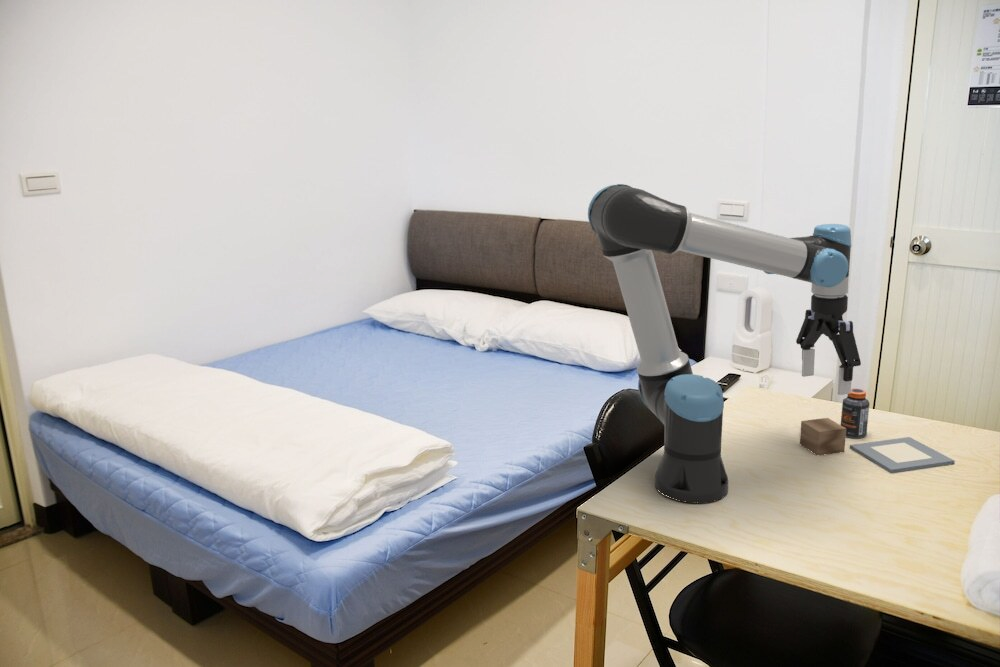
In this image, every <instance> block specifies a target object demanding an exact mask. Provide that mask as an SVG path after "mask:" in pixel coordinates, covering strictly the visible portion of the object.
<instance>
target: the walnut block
mask: <svg viewBox="0 0 1000 667" xmlns="http://www.w3.org/2000/svg"><path fill="white" fill-rule="evenodd" d="M799 436H800V437H799V445H800V444H801V445H800V446H802V447H803V446H804V447H803V448H805V449H806V448H807V450H808V449H809V450H810V451H809V450H808V451H809V452H811V451H812V452H813V453H812V452H811V453H812V454H814V453H815V454H816V455H815V454H814V455H815V456H817V455H819V456H825V455H824V454H827V455H832V454H833V453H834V454H839V453H840V452H841V453H845V448H846V438H847V437H846V428H845V427H843V426H841V424H839V423H838V422H836V421H834V420H832V419H830V418H829V417H823V418H816V419H807V420H806V419H805V420H801V422H800V435H799Z"/></svg>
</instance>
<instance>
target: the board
mask: <svg viewBox="0 0 1000 667" xmlns="http://www.w3.org/2000/svg"><path fill="white" fill-rule="evenodd" d="M849 449H851V450H852V451H853V452H856V453H857V454H858V455H860V456H862V457H864V458H866V459H867V460H869V461H870V462H872V463H874V464H875V465H877V466H879V467H880V468H882V469H884V471H887V472H888V473H890V474H893V473H894V474H895V473H901V472H907V471H908V472H909V471H914V470H922V469H928V468H935V467H936V466H937V467H943V466H942V465H944V466H949V464H951V465H955V460H954V459H952V458H950V457H949V456H947V455H945V454H943V453H941V452H939V451H937V450H936V449H934V448H931V447H929V446H927V445H925V444H923V443H922V442H920V441H919V440H916V439H915V438H912V437H910V436H907V437H906V436H905V437H901V438H891V439H884V440H876V441H871V442H861V443H855V444H853V443H852V444H849Z"/></svg>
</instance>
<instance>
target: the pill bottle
mask: <svg viewBox="0 0 1000 667" xmlns="http://www.w3.org/2000/svg"><path fill="white" fill-rule="evenodd" d="M846 395H847V396H846V397H844V398H843V399H842V406H841V416H840V417H841V419H840V425H841V426H843V427H845V428H846V436H847V437H846V438H850V439H851V438H852V439H863V438H864V437H866V436H867V433H868V432H867V431H868V423H869V412H870V401H869V400H868V399H867V398H866V396H867V391H866V390H865V389H862V388H857V387H856V388H855V387H854V388H852V387H851V394H846Z"/></svg>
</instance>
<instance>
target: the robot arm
mask: <svg viewBox="0 0 1000 667" xmlns="http://www.w3.org/2000/svg"><path fill="white" fill-rule="evenodd" d="M587 219H588V222H589V225H590V227H591V229H592V230H593V232H594V233H596V235H597V238H598V243H599V245H600V249H601V252H602V255H603V257H604V258H606V259H607V260H609V261H611V262H612V264H613V267H614V271H615V274H616V277H617V281H618V285H619V287H620V288H619V289H620V291H621V295H622V300H623V302H624V305H625V308H626V312H627V316H628V320H629V323H630V326H631V330H632V333H633V337H634V340H635V345H636V347H637V351H638V354H639V358H640V362H639V363H638V365H637V366H636V372H637V375H638V382H637V388H638V394H639V397H640V399H641V400H642V402H643V404H644V406H645V407H646V408H647V409H648V410H649V411H651V412H652V414H654V415H655V416H656V418H657V419H658V420H659V421H660V422H661V423H662V424H663V426H664V430H663V431H664V438H663V439H664V441H663V442H664V443H663V445H664V446H663V453H662V456H661V459H660V461H659V464H658V466H657V470H656V472H655V476H654V487H655V486H656V487H655V489H656V488H657V489H658V490H659V491H660V492H661V493H663V494H664V495H667V496H669V497H671V498H674V499H677V500H680V501H686V502H696V503H695V504H704V503H703V502H708V503H711V502H710V501H713V502H715V501H714V500H717V499H719V500H721V499H723V498H724V497H726V495H727V494H728V492H729V477H728V474H727V471H726V468H725V465H724V462H723V458H722V434H723V417H724V416H723V415H724V414H723V413H724V407H725V406H724V405H725V401H724V393H723V390H722V387H721V386H720V384H718V382H716V381H715V380H713V379H711V378H709V377H704V376H703V375H699V374H694V373H693V370H692V365H691V362H690V359H689V355H688V354H687V353H685V352H683V351H681V350H680V348H679V346H678V341H677V338H676V334H675V333H676V332H675V330H674V326H673V324H672V319H671V315H670V312H669V308H668V307H669V306H668V304H667V301H666V298H665V292H664V290H663V289H664V288H663V287H662V286H663V285H662V283H661V278H660V275H659V274H660V273H659V271H658V267H657V264H656V261H655V256H654V253H653V251H655V252H660V253H666V254H668V255H673V254H675V253H677V252H679V251H680V252H684V253H687V254H691V255H696V256H700V257H703V258H709V259H713V260H716V261H717V260H718V261H721V262H725V263H730V264H733V265H738V266H740V267H741V266H742V267H745V268H751V269H754V270H759V271H763V272H764V273H765V274H767V275H780V276H783V277H788V278H791V279H794V280H800V281H803V282H807V283H811V287H810V288H811V290H810V291H811V293H812V295H811V298H810V299H811V300H810V308H809V309H806V310H805V313H804V314H805V315H804V320H803V322H802V325H801V327H800V329H799V331H798V332H799V333H798V334H797V337H796V339H795V340H796V341H795V342H796V344H797V345H800V348H801V360H802V364H801V377H804V378H806V377H812V376H814V375H815V356H816V355H815V354H816V348H815V347H816V346H815V344H816V343H817V342H818V340H819V339H820V337H822V335H824V336H826V337H828V340H830V341H831V342H832V345H833V346H834V349H835V352H836V354H837V356H838V359H839V362H840V363H841V364H840V365H838V382H837V383H838V384H837V395H839V396H842V395H844V396H845V395H847V394H851V389H852V381H853V377H854V374H853V373H854V368H855V367H859V366H861V364H862V362H861V359H860V354H859V351H858V345H857V342H856V338H855V334H854V323H853V321H852V320H848V321H844V319H843V315H844V314H845V313H846V312H847V311H848V301H849V300H848V298H849V296H847V294H848V293H849V276H850V263H851V262H850V260H851V250H852V249H851V248H852V235H851V233H852V232H851V228H850V227H849V226H848V225H846V224H839V223H823V224H818V225H816V226H815V227H814V228H813V233H812V235H809V236H801V237H800V236H798V237H786V236H783V235H778V234H774V233H769V232H768V231H767V232H766V231H763V230H762V231H761V230H759V229H755V228H750V227H746V226H743V225H739V224H735V223H731V222H727V221H724V220H719V219H715V218H711V217H707V216H704V215H699V214H695V213H692V212H690V211H689V209H688V207H687V206H686V205H682V204H677V203H674V202H671V201H669V200H667V199H663V198H661V197H659V196H657V195H654V194H652V193H650V192H648V191H646V190H644V189H640V188H636V187H632V186H630V185H629V184H625V183H620V184H619V183H617V184H610V185H608V186H605V187H603V188H601V189H599V190H598V191H597V192H596V194H594V195H593V197H592V198H591V200H590V202H589V205H588V209H587ZM657 489H656V490H657ZM658 490H657V491H658ZM661 493H660V494H661ZM664 495H663V496H664ZM723 496H724V497H723ZM722 497H723V498H722ZM720 498H721V499H720ZM680 501H679V502H680ZM717 501H718V500H717ZM686 502H685V503H686ZM697 502H698V503H697ZM701 502H702V503H701Z"/></svg>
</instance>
